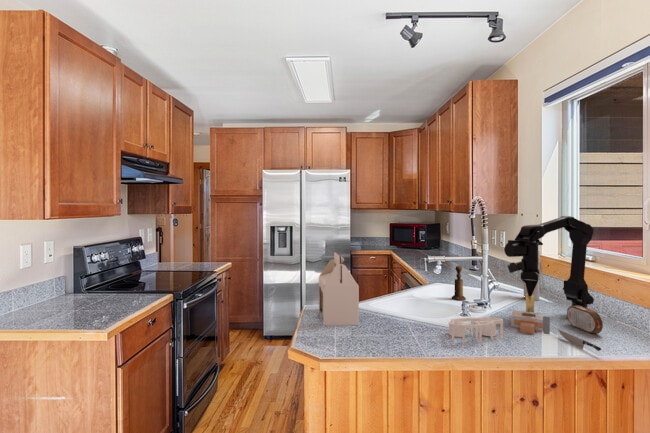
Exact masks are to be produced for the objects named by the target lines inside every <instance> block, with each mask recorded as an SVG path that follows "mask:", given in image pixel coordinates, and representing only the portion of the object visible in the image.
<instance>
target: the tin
mask: <svg viewBox="0 0 650 433" xmlns="http://www.w3.org/2000/svg"><path fill="white" fill-rule="evenodd" d="M566 312H567V314H566V316H567V320H568V322H569V323H570V325H571V326H573V327H574V328H577V329H579V330H581V331H582V332H583V331H584V332H586V333H589V334H600V333H601V332H602V330H603V326H604V323H603V319H602V318H601V315H600V314H599V313H598V312H597V311H595V310H593V309H590V308H589V307H588V308H585V307H582V306H579V305H576V306H572V305H570V306H569V307H568V308H567V310H566Z"/></svg>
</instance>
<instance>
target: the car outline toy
mask: <svg viewBox="0 0 650 433" xmlns="http://www.w3.org/2000/svg"><path fill="white" fill-rule="evenodd" d="M466 322H470V324H467V323H466ZM474 322H475V324H474ZM497 325H500V326H499V328H500V330H499V331H500V335H497ZM467 329H470V336H474V329H475V341H478V343H479V344H483V341H482V340H483V339H482V337H483V336H485V337H490V340H491V341H493V340H494V339H496V340H497V339H498V338H500V339H503V338H504V319H503V318H499V317H490V316H489V317H488V316H487V317H460V318H459V317H457V318H453V319H452V318H451V319H450V320H449V322H448V335H450V336H451V341H452V342H455V338H461V341H462V343H463V344H465V343H466V335H467V333H466V332H467ZM494 336H495V337H494Z"/></svg>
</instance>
